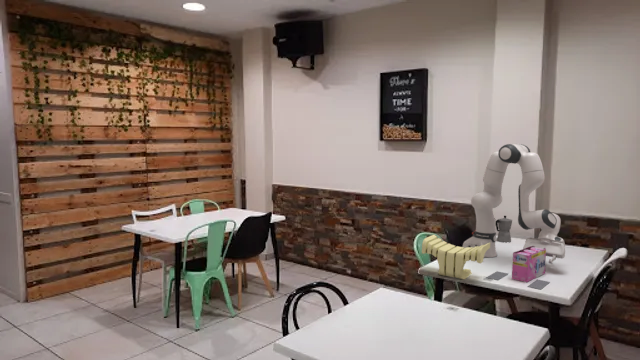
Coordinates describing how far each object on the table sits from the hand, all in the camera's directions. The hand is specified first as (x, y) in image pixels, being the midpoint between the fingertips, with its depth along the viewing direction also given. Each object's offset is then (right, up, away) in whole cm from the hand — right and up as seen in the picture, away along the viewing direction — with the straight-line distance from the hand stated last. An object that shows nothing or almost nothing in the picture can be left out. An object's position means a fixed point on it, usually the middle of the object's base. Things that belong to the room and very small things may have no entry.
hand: (540, 261), depth 237 cm
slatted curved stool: (-48, -6, -6) cm, 48 cm away
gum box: (-10, -7, -7) cm, 14 cm away
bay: (-18, -7, -14) cm, 24 cm away
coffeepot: (+10, 0, +73) cm, 73 cm away
